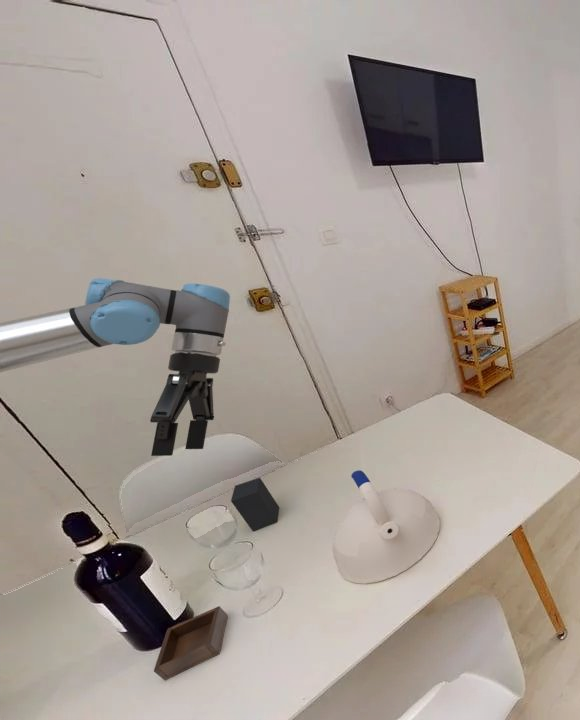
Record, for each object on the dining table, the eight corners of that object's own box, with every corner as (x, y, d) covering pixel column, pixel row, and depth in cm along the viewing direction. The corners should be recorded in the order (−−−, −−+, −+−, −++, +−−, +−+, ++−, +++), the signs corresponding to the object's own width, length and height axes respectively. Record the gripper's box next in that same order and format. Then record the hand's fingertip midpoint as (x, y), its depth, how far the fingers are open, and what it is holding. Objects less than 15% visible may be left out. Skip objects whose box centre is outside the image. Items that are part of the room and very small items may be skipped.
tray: (164, 680, 68) (153, 671, 66) (177, 638, 74) (167, 628, 72) (219, 653, 71) (210, 644, 70) (228, 615, 77) (219, 605, 76)
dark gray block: (252, 531, 94) (230, 501, 89) (255, 515, 98) (234, 485, 93) (277, 522, 96) (256, 492, 91) (279, 507, 100) (259, 477, 95)
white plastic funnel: (354, 607, 78) (315, 545, 69) (326, 542, 91) (290, 484, 82) (456, 539, 91) (435, 480, 82) (419, 491, 103) (397, 435, 94)
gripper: (193, 349, 81) (173, 458, 78) (240, 361, 103) (226, 446, 100) (138, 345, 78) (115, 459, 75) (199, 358, 99) (183, 446, 97)
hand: (179, 452), depth 87 cm, fingers open, 13 cm apart
